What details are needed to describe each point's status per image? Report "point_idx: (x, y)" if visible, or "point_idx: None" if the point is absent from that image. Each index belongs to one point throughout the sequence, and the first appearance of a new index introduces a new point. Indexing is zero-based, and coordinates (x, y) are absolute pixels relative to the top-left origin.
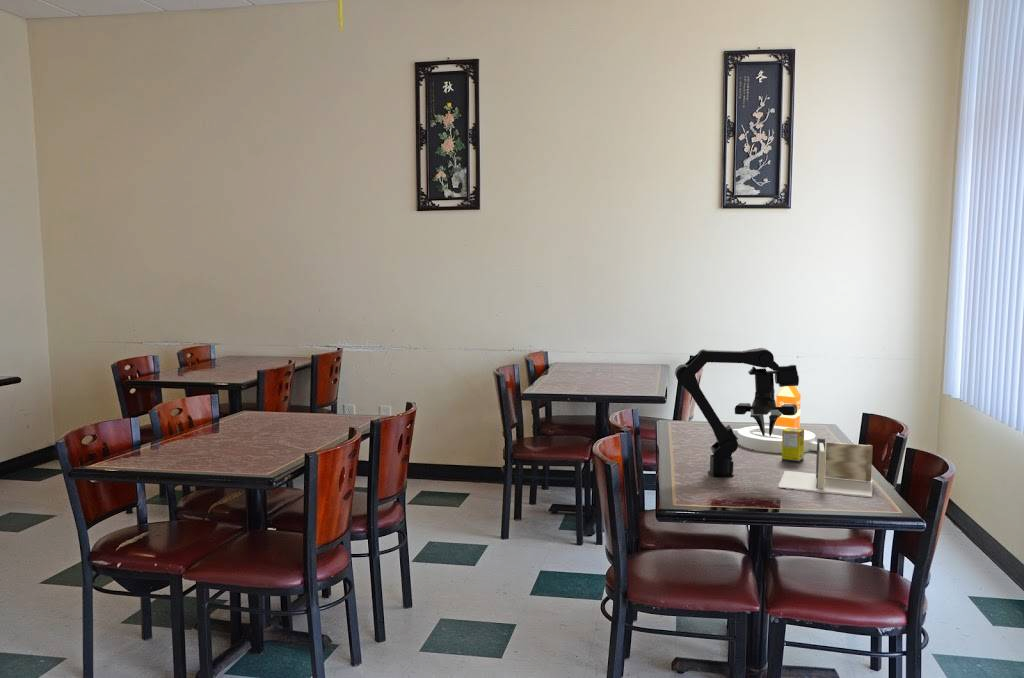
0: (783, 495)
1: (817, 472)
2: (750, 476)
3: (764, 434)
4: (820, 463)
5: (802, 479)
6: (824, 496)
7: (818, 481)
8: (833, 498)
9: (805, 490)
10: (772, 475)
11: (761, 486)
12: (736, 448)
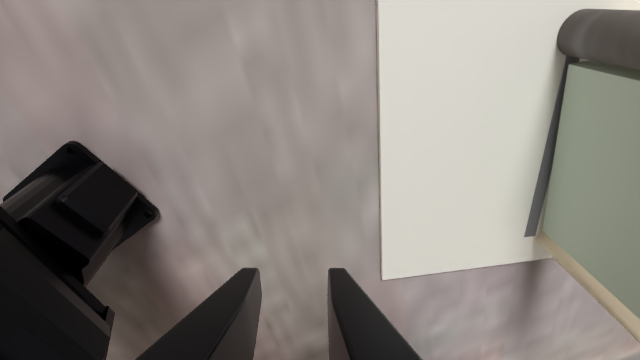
0: (408, 335)
1: (586, 58)
2: (224, 160)
3: (258, 285)
4: (630, 332)
5: (480, 125)
6: (540, 288)
7: (554, 258)
8: (566, 294)
9: (482, 264)
10: (319, 81)
11: (318, 281)
12: (105, 338)
